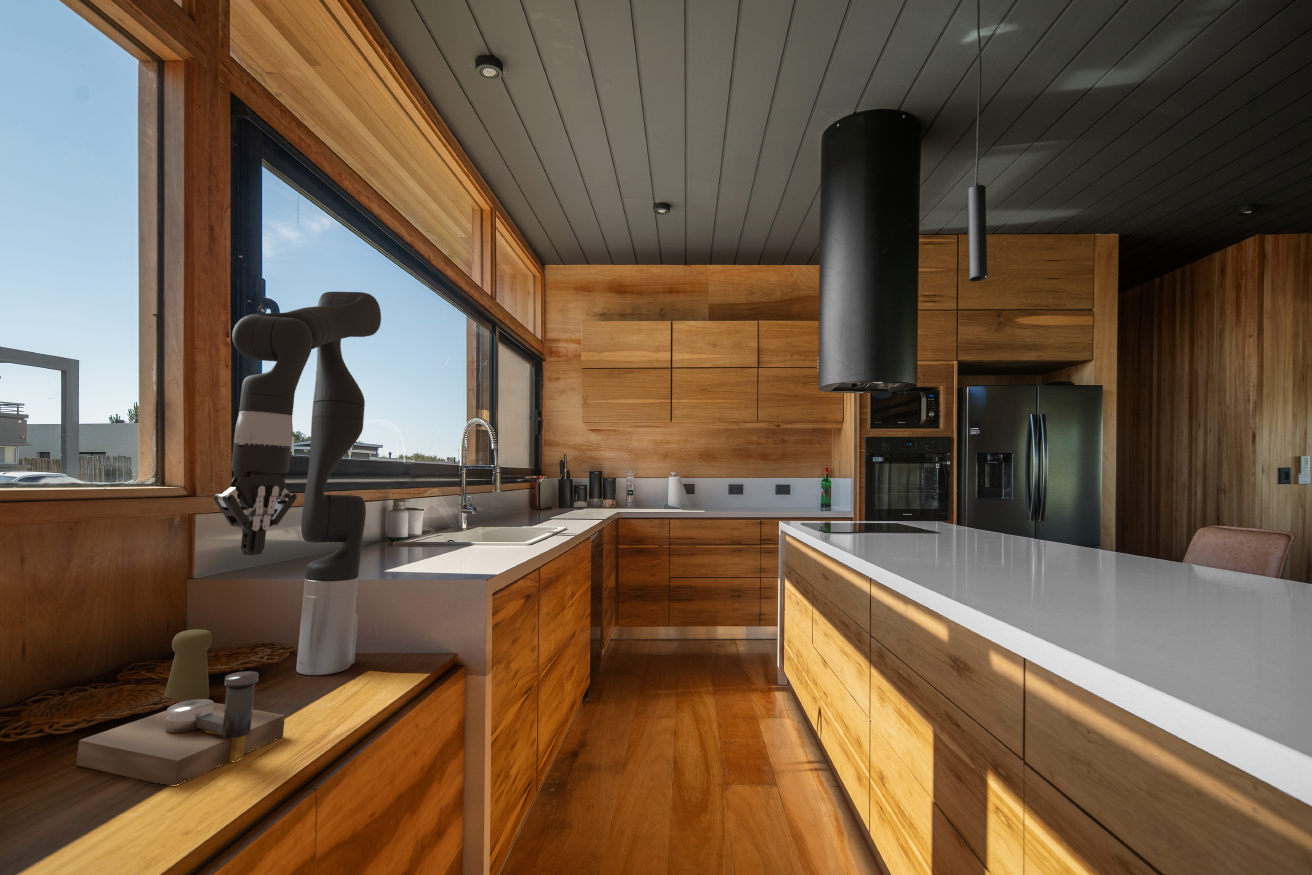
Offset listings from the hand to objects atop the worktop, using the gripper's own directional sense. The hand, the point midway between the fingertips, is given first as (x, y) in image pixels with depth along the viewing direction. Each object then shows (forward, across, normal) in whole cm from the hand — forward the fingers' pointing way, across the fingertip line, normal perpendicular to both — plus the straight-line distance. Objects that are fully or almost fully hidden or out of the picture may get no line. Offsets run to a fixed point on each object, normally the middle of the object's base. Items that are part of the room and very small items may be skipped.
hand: (251, 554), depth 92 cm
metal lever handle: (+21, +11, +8) cm, 25 cm away
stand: (+24, +10, +4) cm, 27 cm away
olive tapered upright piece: (+25, -3, -13) cm, 28 cm away
